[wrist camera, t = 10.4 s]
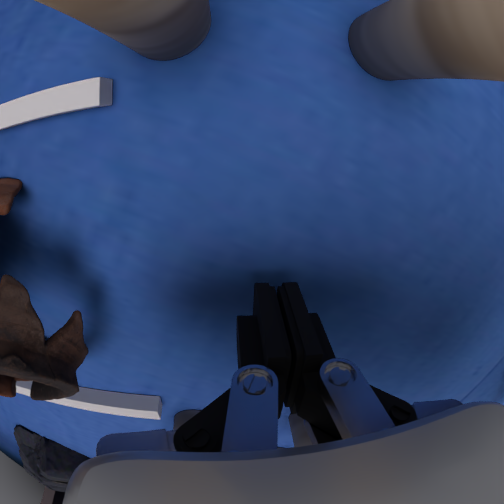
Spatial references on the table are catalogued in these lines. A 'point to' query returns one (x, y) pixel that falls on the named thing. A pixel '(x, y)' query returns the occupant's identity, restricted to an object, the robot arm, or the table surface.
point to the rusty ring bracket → (34, 336)
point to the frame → (48, 105)
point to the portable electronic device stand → (52, 497)
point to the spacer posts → (360, 40)
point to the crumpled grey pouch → (47, 459)
